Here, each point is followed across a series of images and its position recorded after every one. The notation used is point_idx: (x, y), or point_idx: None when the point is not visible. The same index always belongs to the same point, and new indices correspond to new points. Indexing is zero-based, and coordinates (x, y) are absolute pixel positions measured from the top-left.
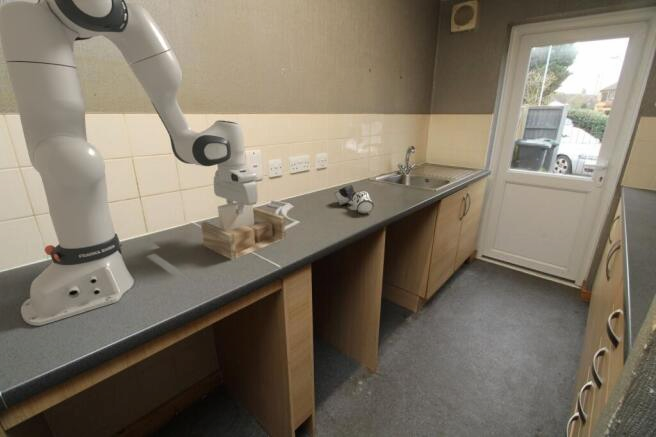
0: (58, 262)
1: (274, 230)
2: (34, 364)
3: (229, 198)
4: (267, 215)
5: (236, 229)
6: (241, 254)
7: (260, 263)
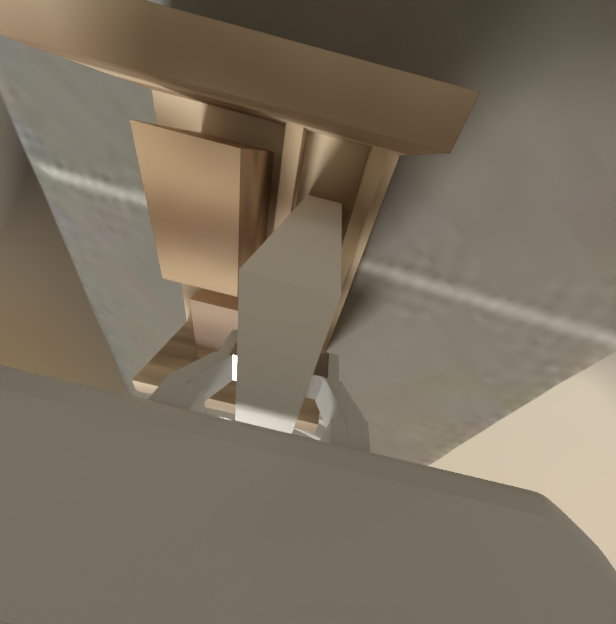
0: None
1: None
2: None
3: (270, 447)
4: (224, 392)
5: (219, 232)
6: None
7: (101, 150)
